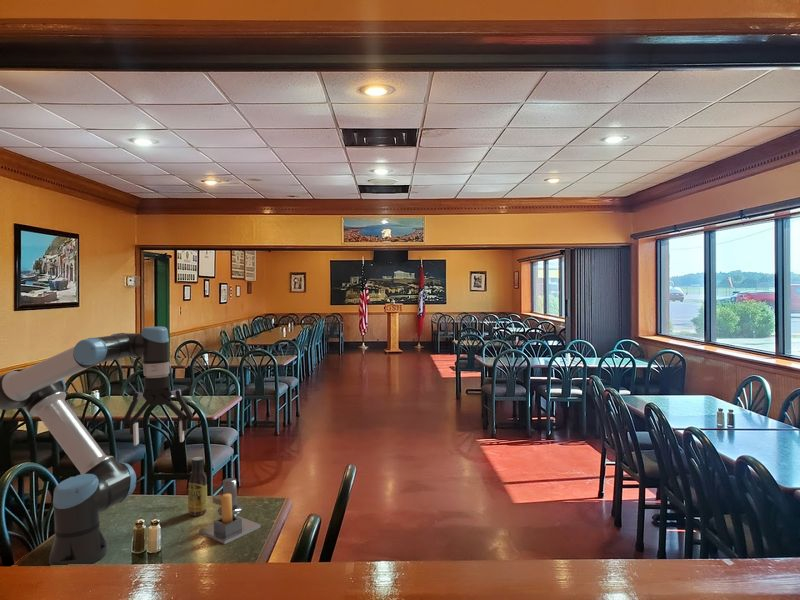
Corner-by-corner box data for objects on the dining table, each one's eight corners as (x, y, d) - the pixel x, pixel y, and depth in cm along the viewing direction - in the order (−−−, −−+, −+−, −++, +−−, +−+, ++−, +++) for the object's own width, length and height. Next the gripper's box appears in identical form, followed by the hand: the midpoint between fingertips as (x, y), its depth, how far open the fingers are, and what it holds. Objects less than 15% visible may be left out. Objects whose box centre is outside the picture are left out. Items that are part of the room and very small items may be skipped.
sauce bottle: (184, 516, 193) (182, 460, 192) (196, 508, 199) (194, 454, 198) (200, 518, 191) (198, 461, 190) (211, 510, 197) (209, 456, 196)
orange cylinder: (220, 532, 177) (219, 496, 176) (228, 528, 179) (227, 492, 179) (226, 535, 175) (225, 498, 174) (234, 531, 177) (233, 494, 177)
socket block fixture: (190, 529, 182) (188, 484, 182) (226, 514, 193) (224, 472, 193) (224, 544, 171) (223, 496, 170) (260, 527, 182) (259, 482, 182)
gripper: (110, 380, 166) (112, 449, 167) (196, 375, 170) (198, 442, 171) (118, 376, 173) (120, 442, 174) (200, 371, 178) (202, 436, 179)
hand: (159, 442), depth 173 cm, fingers open, 13 cm apart
